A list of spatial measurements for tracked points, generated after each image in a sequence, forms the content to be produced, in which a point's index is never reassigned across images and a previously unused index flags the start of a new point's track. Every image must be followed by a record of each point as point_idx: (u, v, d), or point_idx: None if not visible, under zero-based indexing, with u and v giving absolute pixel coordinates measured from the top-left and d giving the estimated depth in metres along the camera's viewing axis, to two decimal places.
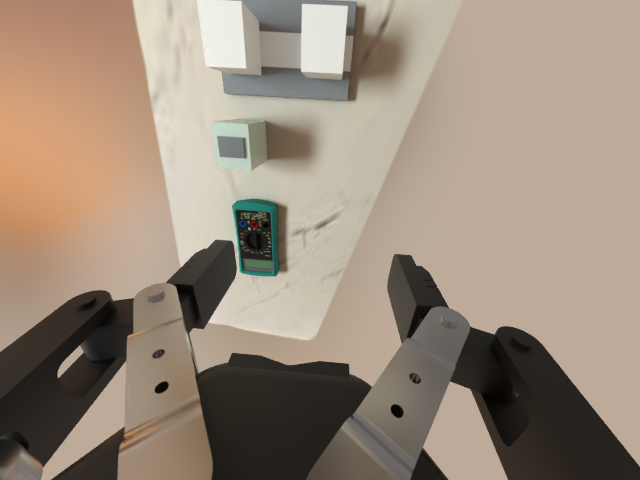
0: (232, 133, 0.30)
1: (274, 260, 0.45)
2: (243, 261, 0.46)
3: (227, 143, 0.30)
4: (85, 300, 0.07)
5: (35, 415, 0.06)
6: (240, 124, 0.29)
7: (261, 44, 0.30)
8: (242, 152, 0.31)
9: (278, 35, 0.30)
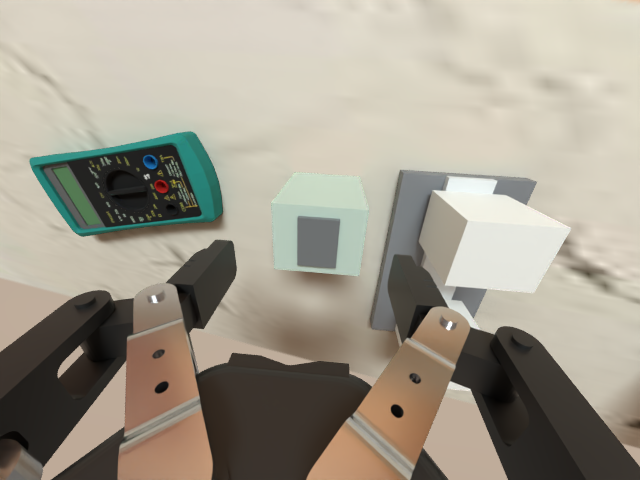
0: (343, 247, 0.15)
1: (109, 230, 0.23)
2: (61, 166, 0.20)
3: (325, 239, 0.14)
4: (84, 300, 0.07)
5: (35, 415, 0.06)
6: (359, 262, 0.15)
7: None
8: (308, 262, 0.15)
9: None
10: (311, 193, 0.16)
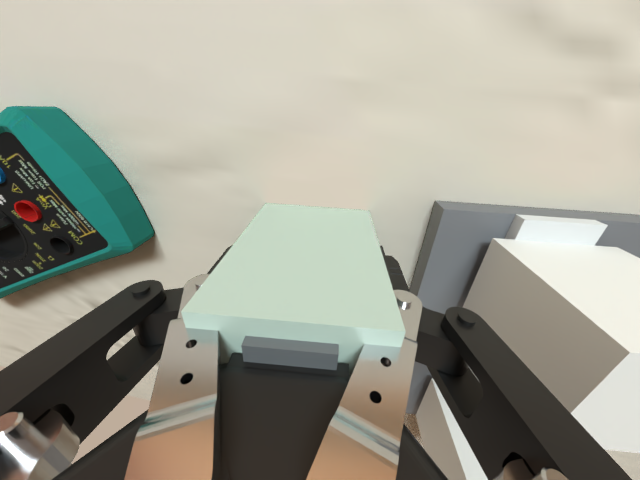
0: None
1: None
2: None
3: None
4: (140, 288, 0.08)
5: (83, 391, 0.06)
6: None
7: None
8: None
9: None
10: (280, 268, 0.08)
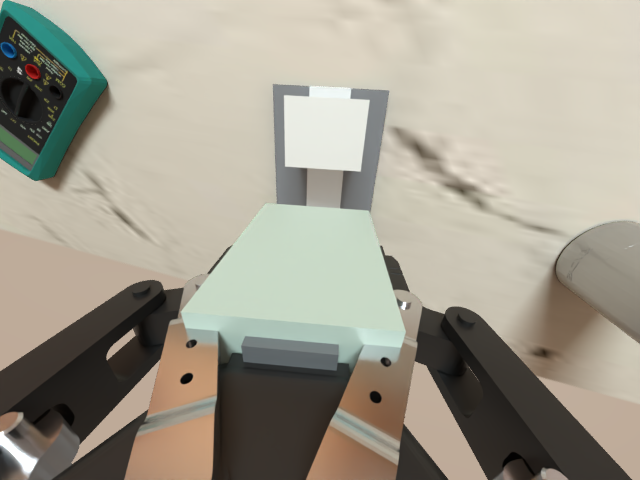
0: None
1: (43, 156, 0.25)
2: None
3: None
4: (140, 288, 0.08)
5: (83, 391, 0.06)
6: None
7: None
8: None
9: (339, 181, 0.24)
10: (280, 268, 0.08)
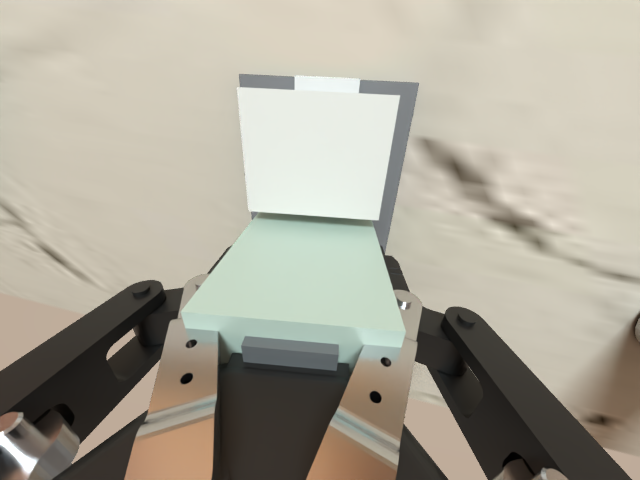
0: None
1: None
2: None
3: None
4: (140, 288, 0.08)
5: (83, 391, 0.06)
6: None
7: None
8: None
9: None
10: (280, 268, 0.08)
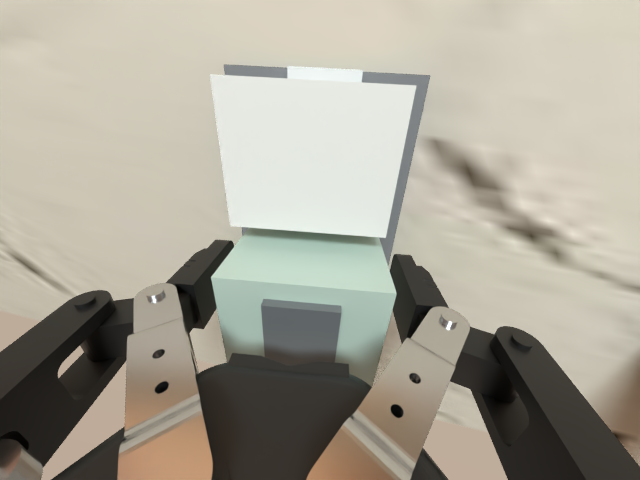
0: (346, 347, 0.08)
1: None
2: None
3: (313, 339, 0.08)
4: (85, 300, 0.07)
5: (35, 415, 0.06)
6: None
7: None
8: None
9: None
10: (291, 246, 0.09)
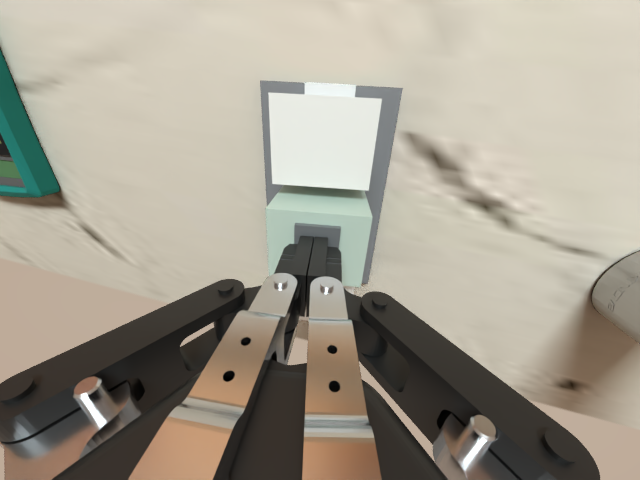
0: (344, 257, 0.14)
1: (15, 154, 0.20)
2: None
3: None
4: (225, 287, 0.08)
5: (155, 371, 0.07)
6: (361, 272, 0.14)
7: None
8: None
9: None
10: (309, 198, 0.14)
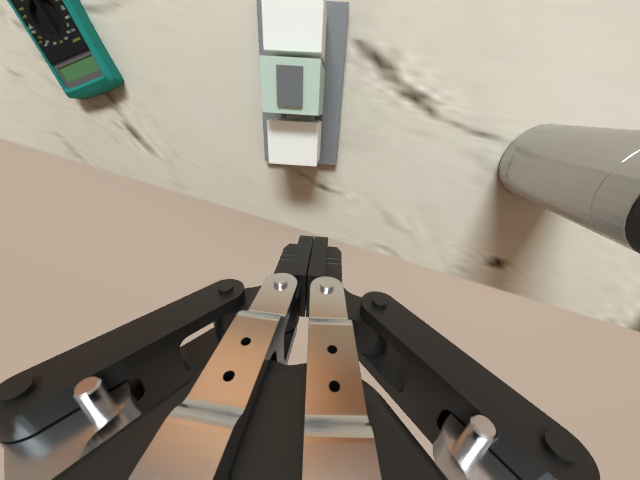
0: (306, 91, 0.23)
1: (90, 45, 0.29)
2: (59, 72, 0.31)
3: (294, 82, 0.22)
4: (225, 287, 0.08)
5: (155, 372, 0.07)
6: (317, 104, 0.23)
7: None
8: (284, 103, 0.23)
9: None
10: None
